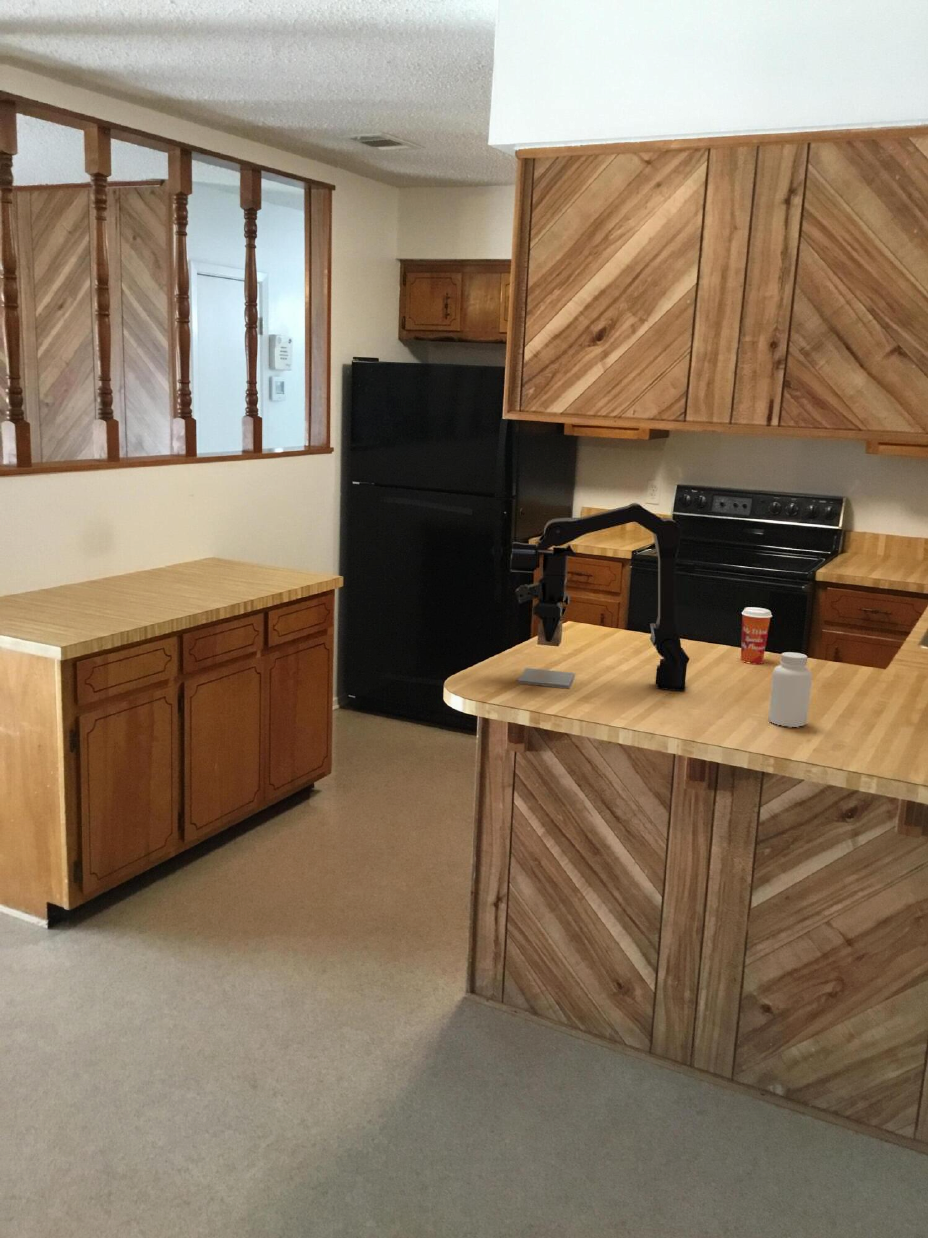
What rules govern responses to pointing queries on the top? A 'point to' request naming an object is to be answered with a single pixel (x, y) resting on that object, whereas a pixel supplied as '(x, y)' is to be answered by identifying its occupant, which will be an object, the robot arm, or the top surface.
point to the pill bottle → (790, 691)
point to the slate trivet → (546, 678)
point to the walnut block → (555, 639)
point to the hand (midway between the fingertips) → (549, 639)
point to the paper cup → (754, 634)
